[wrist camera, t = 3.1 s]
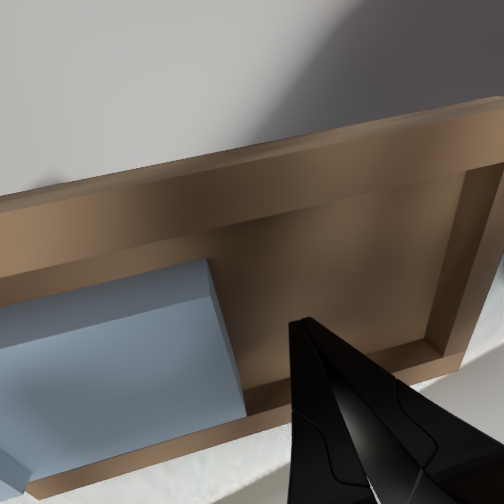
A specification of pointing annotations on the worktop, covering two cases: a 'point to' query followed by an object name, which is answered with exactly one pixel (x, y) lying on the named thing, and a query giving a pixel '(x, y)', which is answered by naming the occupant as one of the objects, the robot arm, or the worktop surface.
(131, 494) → the worktop surface
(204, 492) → the worktop surface
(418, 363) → the brown flat wooden tray
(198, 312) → the blue mattress with pillow
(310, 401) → the robot arm
